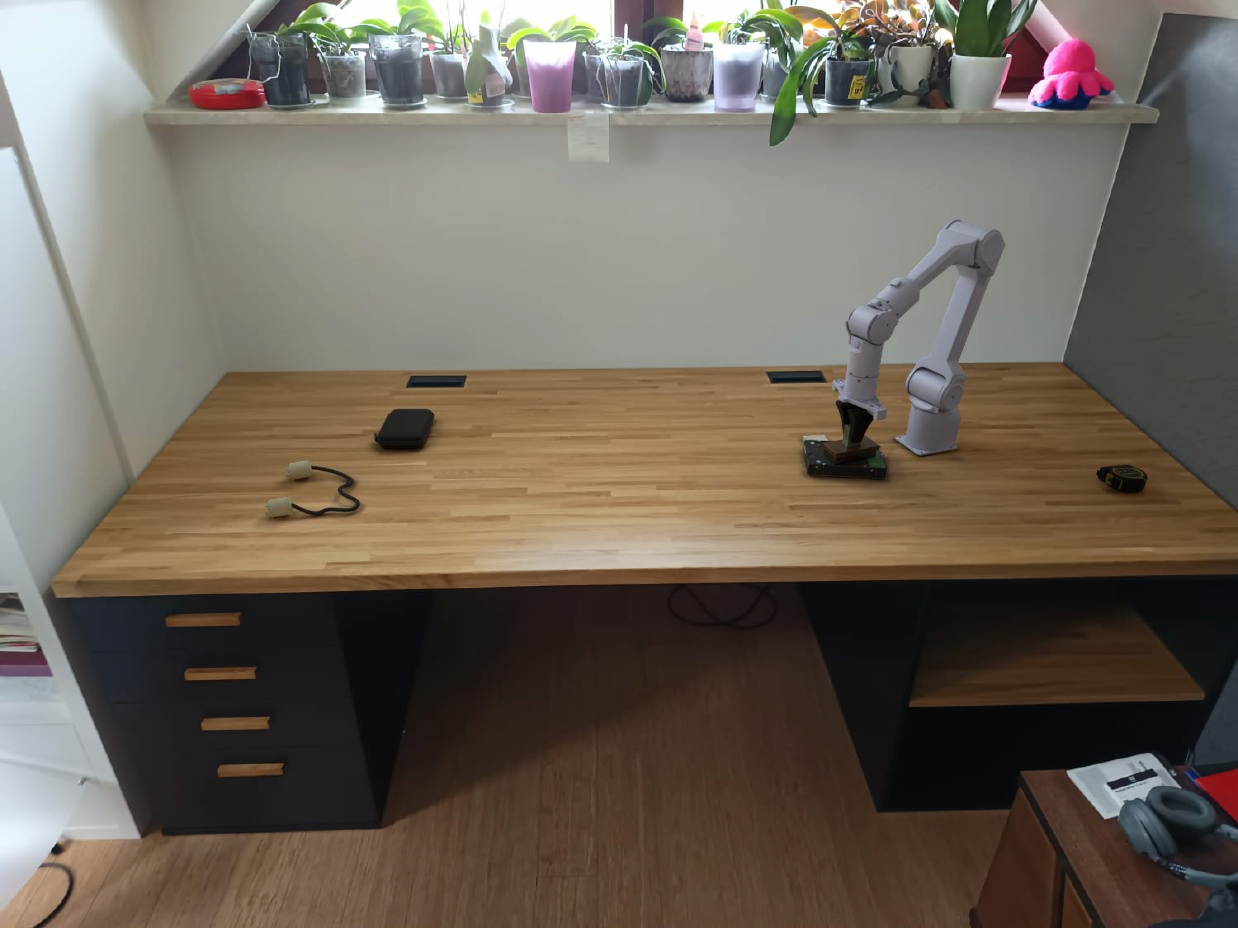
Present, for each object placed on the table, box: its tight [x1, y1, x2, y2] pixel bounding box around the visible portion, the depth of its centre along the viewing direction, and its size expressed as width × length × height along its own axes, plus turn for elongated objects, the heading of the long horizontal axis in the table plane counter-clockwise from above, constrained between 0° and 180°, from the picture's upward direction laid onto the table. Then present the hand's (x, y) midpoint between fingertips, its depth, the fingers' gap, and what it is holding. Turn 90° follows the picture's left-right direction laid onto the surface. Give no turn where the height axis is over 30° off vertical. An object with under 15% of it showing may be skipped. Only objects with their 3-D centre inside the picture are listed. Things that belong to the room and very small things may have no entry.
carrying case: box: [373, 408, 435, 449], centre depth 178 cm, size 11×3×15 cm
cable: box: [264, 459, 361, 518], centre depth 156 cm, size 16×16×4 cm
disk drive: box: [802, 440, 889, 480], centre depth 168 cm, size 10×3×15 cm
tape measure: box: [1095, 464, 1148, 494], centre depth 161 cm, size 7×7×4 cm
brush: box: [822, 424, 881, 464], centre depth 164 cm, size 10×5×6 cm, turn 110°
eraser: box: [802, 434, 829, 442], centre depth 176 cm, size 4×3×1 cm, turn 96°
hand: (852, 438), depth 164 cm, fingers closed on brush
